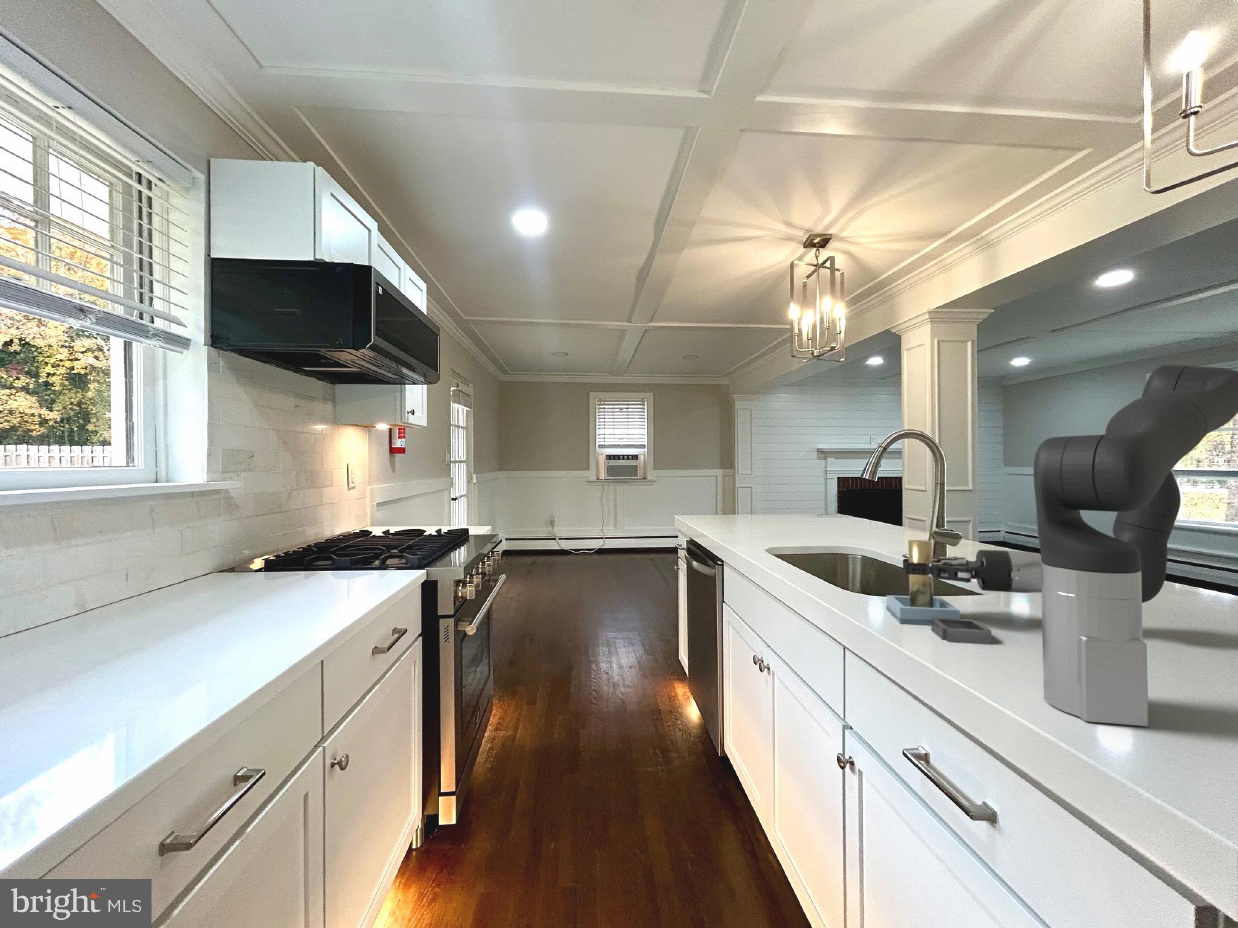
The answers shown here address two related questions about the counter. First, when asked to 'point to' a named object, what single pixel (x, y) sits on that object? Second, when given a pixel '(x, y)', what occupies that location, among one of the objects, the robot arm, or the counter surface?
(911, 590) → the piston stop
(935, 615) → the tray
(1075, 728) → the counter surface
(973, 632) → the grey square holder
